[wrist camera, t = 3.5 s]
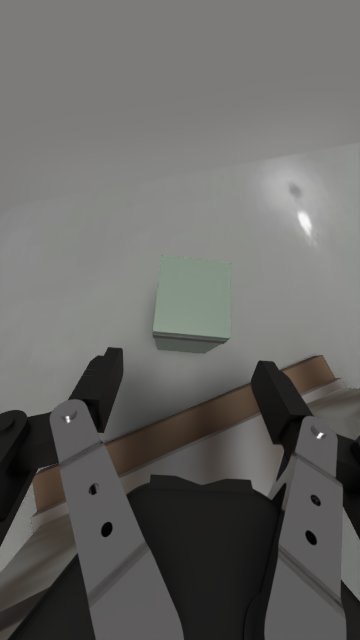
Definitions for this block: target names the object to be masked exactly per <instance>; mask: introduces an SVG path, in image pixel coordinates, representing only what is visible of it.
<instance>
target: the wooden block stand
mask: <svg viewBox="0 0 360 640" xmlns="http://www.w3.org/2000/svg"><path fill="white" fill-rule="evenodd" d="M280 371H282V372H284V373H285V374H286V375H287V376H288V377H289V378H290V379H291V381H292V382H293V384H294V387H296V389H297V390H298V393H300V395H301V397H302V398H303V400H304V401H305V403H306V404H307V406H308V408H309V409H310V411H311V412H312V414H313V415H314V417H316V418H319V419H321V420H323V421H324V422H326V423H327V424H328V425H329V426H330V427H331V428H332V429H333V430H334V432H335V433H336V434H338V435H341V436H344V437H347V438H350V439H353V440H356V439H357V438H358V436H360V389H353V388H347V387H346V385H345V384H344V382H343V380H342V378H335V377H334V375H333V373H332V372H331V370H330V368H329V366H328V364H327V362H326V360H325V359H324V357H323V355H319V356H314V357H311V358H309V359H307V360H304V361H302V362H299V363H297V364H295V365H292V366H290V367H287V368H285V369H283V370H280ZM105 446H106V449H107V451H108V453H109V456H110V458H111V461H112V463H113V465H114V468H115V470H116V473H117V475H118V477H119V480H120V482H121V485H122V487H123V489H124V492H125V494H127V493H129V492H130V491H131V490H133V489H135V488H136V487H138V486H140V485H143V484H145V483H149V482H150V475H151V474H155V475H173V476H178V477H181V478H183V479H186V480H189V481H192V482H194V483H197V484H200V485H205V484H208V483H212V482H216V481H219V480H223V479H226V478H228V479H246V480H251V483H252V487H253V489H255V490H257V491H259V492H261V493H262V494H264V495H265V496H268V494H269V492H270V490H271V487H272V485H273V481H274V478H275V475H276V471H277V468H278V464H279V461H280V458H281V454H282V452H283V450H284V449H283V446H282V445H273V443H272V440H271V438H270V435H269V433H268V430H267V428H266V425H265V423H264V420H263V417H262V415H261V412H260V410H259V407H258V405H257V402H256V399H255V397H254V394H253V392H252V389H251V383H249V384H247V385H244V386H242V387H239V388H237V389H235V390H232V391H230V392H227V393H225V394H223V395H220V396H218V397H216V398H213V399H211V400H208V401H206V402H204V403H201V404H199V405H196V406H194V407H192V408H189V409H187V410H184V411H182V412H180V413H177V414H175V415H172V416H170V417H168V418H165V419H163V420H160V421H158V422H156V423H153V424H151V425H148V426H146V427H144V428H141V429H139V430H136V431H134V432H132V433H129V434H127V435H125V436H122V437H120V438H117V439H115V440H113V441H110V442H108V443H105ZM32 483H33V489H34V495H35V501H36V507H37V512H36V513H35V514H34V515H33V516H32V517H31V522H32V528H33V535H32V536H31V537H30V538H29V540H28V541H27V542H26V543H25V544H24V545H23V547H22V548H21V549H20V550H19V551H18V553H17V554H16V555H15V556H14V557H13V559H12V560H11V561H10V562H9V563H8V565H7V566H6V567H5V568H4V569H3V570H2V572H1V573H0V640H7V639H8V638H9V637H10V635H11V634H12V633H13V632H14V630H15V629H16V628H17V627H18V625H19V624H20V623H21V622H22V621H23V619H24V618H25V617H26V616H27V614H28V613H29V612H30V611H31V609H32V608H33V607H34V606H35V604H36V603H37V602H38V601H39V600H40V598H41V597H42V596H43V595H44V593H45V592H46V591H47V590H48V588H49V587H50V586H51V585H52V583H53V582H54V581H55V580H56V579H57V577H58V576H59V575H60V574H61V572H62V571H63V570H64V569H65V567H66V566H67V565H68V564H69V562H70V561H71V560H72V559H73V557H74V556H75V555H76V554H77V553H78V551H77V547H76V542H75V538H74V533H73V529H72V524H71V519H70V515H69V510H68V506H67V501H66V497H65V492H64V488H63V483H62V479H61V474H60V469H59V463H57V464H55V465H53V466H50V467H48V468H45V469H43V470H41V471H39V472H38V473H36V474H35V476H34V478H33V480H32ZM342 507H343V506H342Z"/></svg>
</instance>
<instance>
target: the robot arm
mask: <svg viewBox="0 0 360 640" xmlns="http://www.w3.org/2000/svg"><path fill="white" fill-rule="evenodd" d="M122 377H123V350H122V348H112V347H109V348H108V349H107V351H106V353H105V355H104V356H97V357H95V358H94V359H93V360H92V361H90V363H89V365H88V367H87V368H86V370H85V372H84V373H83V376H82V377H81V379H80V380H79V382H78V384H77V385H76V387H75V389H74V391H73V392H72V394H71V396H70V397H69V399H68V401H65V402H63V403H61V404H59V405H58V406H57V407H56V408H55V409H54V410H53V411H52V412H49V413H45V414H40V415H36V416H31V417H27V415H26V414H25V413H24V412H23V411H20V410H11V411H7V412H4V413H2V414H0V546H1V544H2V542H3V540H4V538H5V536H6V534H7V532H8V530H9V528H10V526H11V524H12V522H13V519H14V517H15V515H16V513H17V511H18V509H19V507H20V505H21V503H22V501H23V499H24V497H25V495H26V493H27V491H28V489H29V486H30V484H31V482H32V480H33V478H34V476H35V474H36V472H37V470H38V468H42V467H45V466H49V465H52V464H56V463H59V469H60V474H61V479H62V483H63V488H64V492H65V497H66V501H67V506H68V510H69V515H70V519H71V524H72V529H73V533H74V538H75V542H76V547H77V551H78V553H77V554H76V555H75V556H74V557H73V559H72V560H71V561H70V562H69V564H68V565H67V566H66V567H65V569H64V570H63V571H62V572H61V574H60V575H59V576H58V577H57V579H56V580H55V581H54V582H53V583H52V585H51V586H50V587H49V588H48V590H47V591H46V592H45V593H44V595H43V596H42V597H41V598H40V600H39V601H38V602H37V603H36V604H35V606H34V607H33V608H32V609H31V611H30V612H29V613H28V614H27V616H26V617H25V618H24V619H23V621H22V622H21V623H20V624H19V625H18V627H17V628H16V629H15V630H14V632H13V633H12V634H11V635H10V637H9V638H8V639H7V640H360V601H359V600H358V599H357V598H356V597H355V595H354V594H353V593H352V592H351V591H350V589H349V588H348V587H347V586H346V585H345V584H344V582H343V581H342V580H341V548H342V506H343V507H344V509H345V511H346V513H347V515H348V517H349V519H350V521H351V523H352V525H353V527H354V529H355V531H356V533H357V535H358V537H359V539H360V436H358V438H357V439H356V440H353V439H350V438H347V437H344V436H341V435H338V434H336V433H335V432H334V430H333V429H332V428H331V427H330V426H329V425H328V424H327V423H326V422H324V421H323V420H321V419H319V418H316V417H314V415H313V414H312V412H311V411H310V409H309V408H308V406H307V404H306V403H305V401H304V400H303V398H302V397H301V395H300V393H298V390H297V389H296V387H294V384H293V382H292V381H291V379H290V378H289V377H288V376H287V375H286V374H285V373H284V372H282V371H279V370H278V368H277V366H276V365H275V363H274V362H272V361H259V362H258V363H257V366H256V369H255V371H254V374H253V377H252V379H251V389H252V392H253V394H254V397H255V399H256V402H257V405H258V407H259V410H260V412H261V415H262V417H263V420H264V423H265V425H266V428H267V430H268V433H269V435H270V438H271V440H272V443H273V445H282V446H283V449H284V450H283V452H282V454H281V458H280V461H279V464H278V468H277V471H276V475H275V478H274V481H273V485H272V487H271V490H270V492H269V494H268V496H265V495H264V494H262V493H261V492H259V491H257V490H255V489H253V487H252V483H251V480H246V479H228V478H226V479H223V480H219V481H216V482H212V483H208V484H205V485H200V484H197V483H194V482H192V481H189V480H186V479H183V478H181V477H178V476H173V475H155V474H151V475H150V482H149V483H145V484H143V485H140V486H138V487H136V488H135V489H133V490H131V491H130V492H129V493H127V494H125V492H124V489H123V487H122V485H121V482H120V480H119V477H118V475H117V473H116V470H115V468H114V465H113V463H112V461H111V458H110V456H109V453H108V451H107V449H106V446H105V444H104V443H103V442H101V440H100V438H99V435H98V433H104V430H105V427H106V425H107V422H108V419H109V416H110V413H111V410H112V407H113V404H114V401H115V398H116V395H117V392H118V389H119V386H120V383H121V380H122ZM97 432H98V433H97Z"/></svg>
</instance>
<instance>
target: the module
mask: <svg viewBox="0 0 360 640" xmlns="http://www.w3.org/2000/svg"><path fill="white" fill-rule="evenodd" d="M153 338H155V341H156V345H157V349H158V350H169V351H180V352H192V353H203V354H205V353H206V352H208V351H210V350H212V349H213V348H215V347H217V346H218V345H220V344H224V343H225V342H227V340H228V339H230V338H231V263H230V262H221V261H212V260H202V259H193V258H184V257H175V256H166V255H162V257H161V265H160V273H159V282H158V290H157V299H156V307H155V315H154V324H153Z"/></svg>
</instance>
